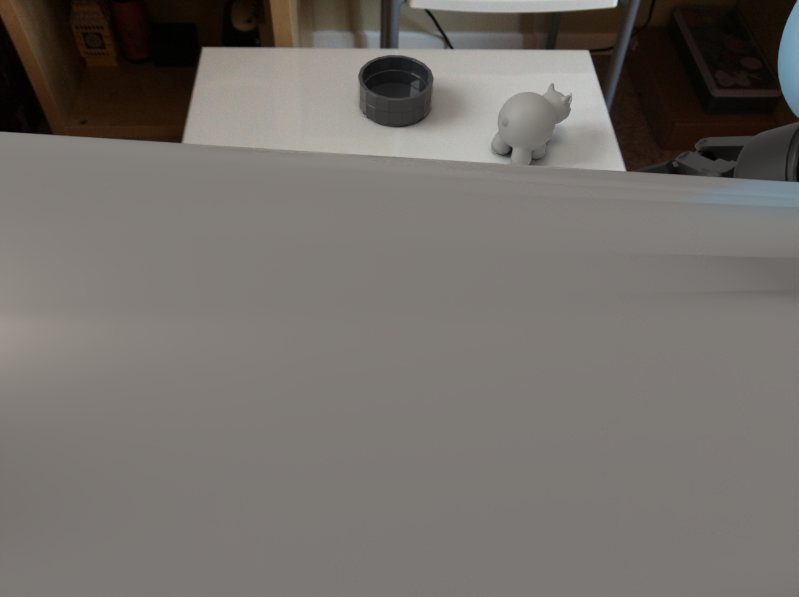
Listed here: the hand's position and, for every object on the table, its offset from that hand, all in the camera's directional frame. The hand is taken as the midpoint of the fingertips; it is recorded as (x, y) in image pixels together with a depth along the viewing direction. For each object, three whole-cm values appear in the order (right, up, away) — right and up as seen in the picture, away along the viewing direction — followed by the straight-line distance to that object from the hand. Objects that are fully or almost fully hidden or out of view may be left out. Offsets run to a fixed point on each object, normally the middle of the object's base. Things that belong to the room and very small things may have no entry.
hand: (561, 239), depth 58 cm
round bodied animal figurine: (+5, +16, +41) cm, 44 cm away
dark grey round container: (-13, +22, +45) cm, 52 cm away
